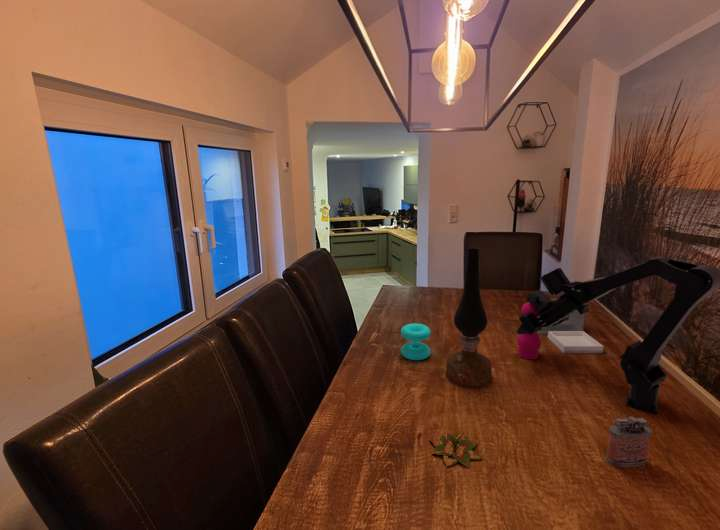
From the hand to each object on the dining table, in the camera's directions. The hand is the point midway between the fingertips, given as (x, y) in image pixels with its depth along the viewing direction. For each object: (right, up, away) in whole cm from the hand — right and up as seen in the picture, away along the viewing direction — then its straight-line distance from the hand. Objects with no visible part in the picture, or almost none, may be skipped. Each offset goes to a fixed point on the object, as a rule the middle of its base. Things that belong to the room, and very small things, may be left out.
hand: (526, 329), depth 123 cm
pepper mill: (+1, -9, +1) cm, 9 cm away
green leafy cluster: (-34, -20, -41) cm, 57 cm away
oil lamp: (-23, -12, -11) cm, 28 cm away
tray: (+20, -7, +7) cm, 22 cm away
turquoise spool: (-36, -10, +4) cm, 38 cm away
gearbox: (+21, -3, +23) cm, 31 cm away
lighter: (0, -20, -46) cm, 50 cm away
